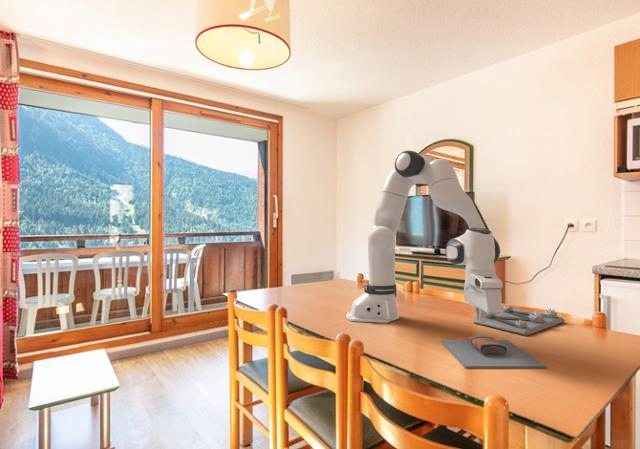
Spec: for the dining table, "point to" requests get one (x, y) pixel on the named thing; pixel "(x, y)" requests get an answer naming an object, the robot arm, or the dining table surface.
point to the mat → (491, 356)
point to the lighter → (488, 345)
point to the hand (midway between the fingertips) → (480, 321)
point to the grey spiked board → (521, 320)
